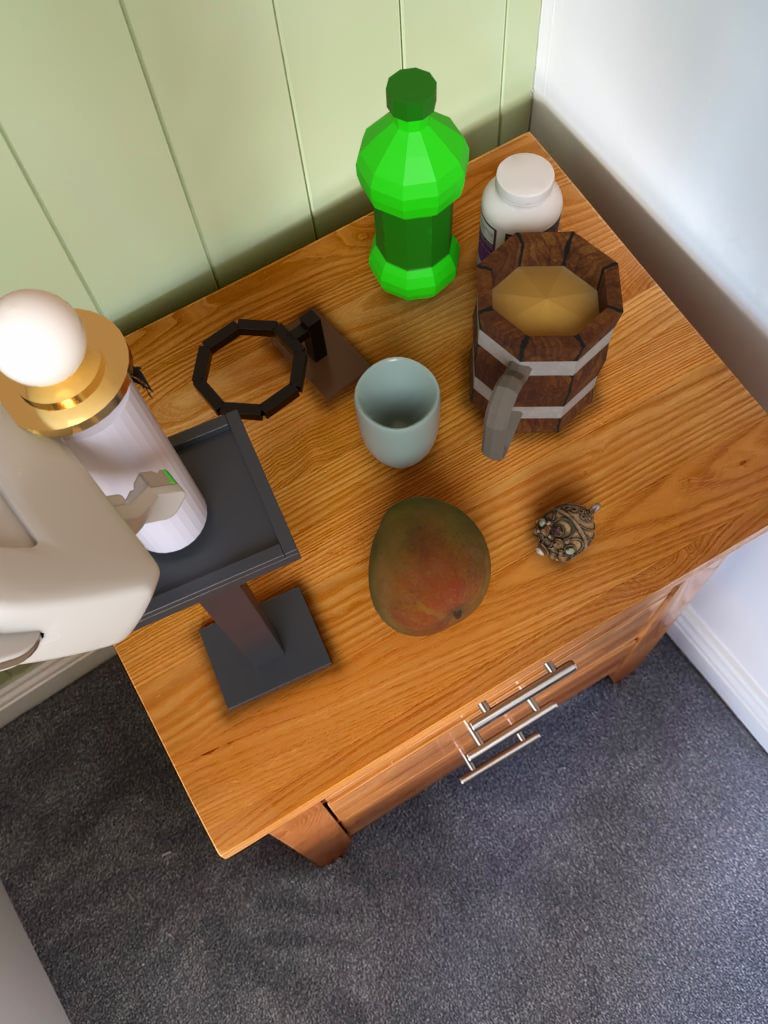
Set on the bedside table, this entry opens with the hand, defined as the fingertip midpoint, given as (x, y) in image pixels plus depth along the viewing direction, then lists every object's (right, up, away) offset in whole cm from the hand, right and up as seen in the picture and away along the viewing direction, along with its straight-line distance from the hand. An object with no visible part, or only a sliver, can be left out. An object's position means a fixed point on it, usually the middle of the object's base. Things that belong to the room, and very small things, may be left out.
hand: (120, 427), depth 39 cm
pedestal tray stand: (+1, -17, +38) cm, 41 cm away
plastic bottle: (+16, +22, +54) cm, 60 cm away
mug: (+26, +7, +47) cm, 54 cm away
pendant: (+30, -7, +41) cm, 51 cm away
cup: (+14, +3, +46) cm, 48 cm away
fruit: (+16, -10, +40) cm, 44 cm away
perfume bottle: (0, -5, +10) cm, 11 cm away
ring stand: (+2, +9, +49) cm, 50 cm away
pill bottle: (+26, +22, +53) cm, 64 cm away
